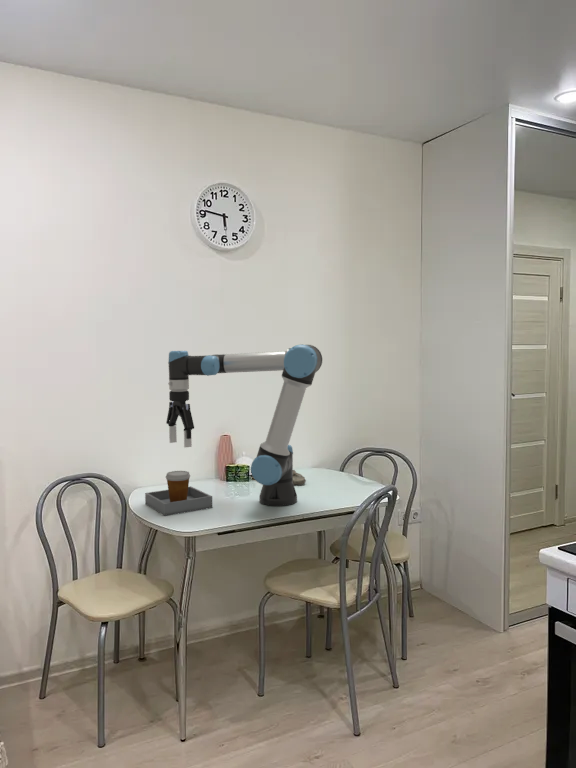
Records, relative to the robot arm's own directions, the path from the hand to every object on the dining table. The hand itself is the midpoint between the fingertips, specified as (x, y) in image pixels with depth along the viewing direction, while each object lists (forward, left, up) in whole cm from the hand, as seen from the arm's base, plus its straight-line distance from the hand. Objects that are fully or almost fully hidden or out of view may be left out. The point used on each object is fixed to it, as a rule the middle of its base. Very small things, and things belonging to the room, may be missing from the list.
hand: (180, 444), depth 240 cm
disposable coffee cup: (-1, +2, -23) cm, 23 cm away
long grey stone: (+17, -55, -24) cm, 62 cm away
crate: (-1, +2, -24) cm, 24 cm away
